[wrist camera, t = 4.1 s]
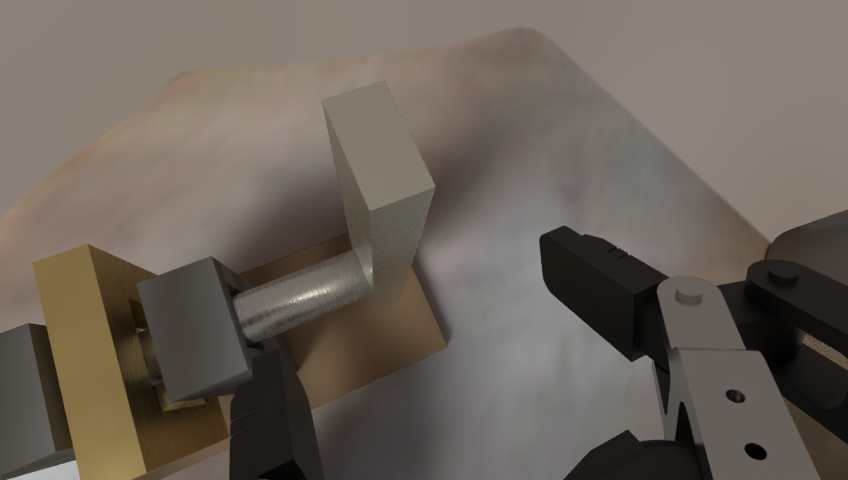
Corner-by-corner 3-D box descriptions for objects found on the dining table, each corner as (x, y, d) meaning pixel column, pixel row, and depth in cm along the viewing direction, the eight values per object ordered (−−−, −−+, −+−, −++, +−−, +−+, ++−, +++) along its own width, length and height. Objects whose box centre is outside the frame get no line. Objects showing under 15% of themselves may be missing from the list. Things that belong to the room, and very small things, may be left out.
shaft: (380, 253, 26) (385, 80, 11) (400, 300, 25) (435, 186, 10) (54, 383, 22) (-665, 404, 7) (67, 442, 21) (-702, 610, 6)
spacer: (183, 287, 26) (87, 244, 17) (229, 437, 24) (146, 472, 15) (148, 300, 25) (32, 262, 17) (192, 454, 23) (85, 500, 15)
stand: (389, 222, 33) (396, 135, 21) (445, 347, 30) (488, 331, 19) (91, 336, 28) (-116, 309, 16) (129, 492, 26) (-79, 592, 14)
